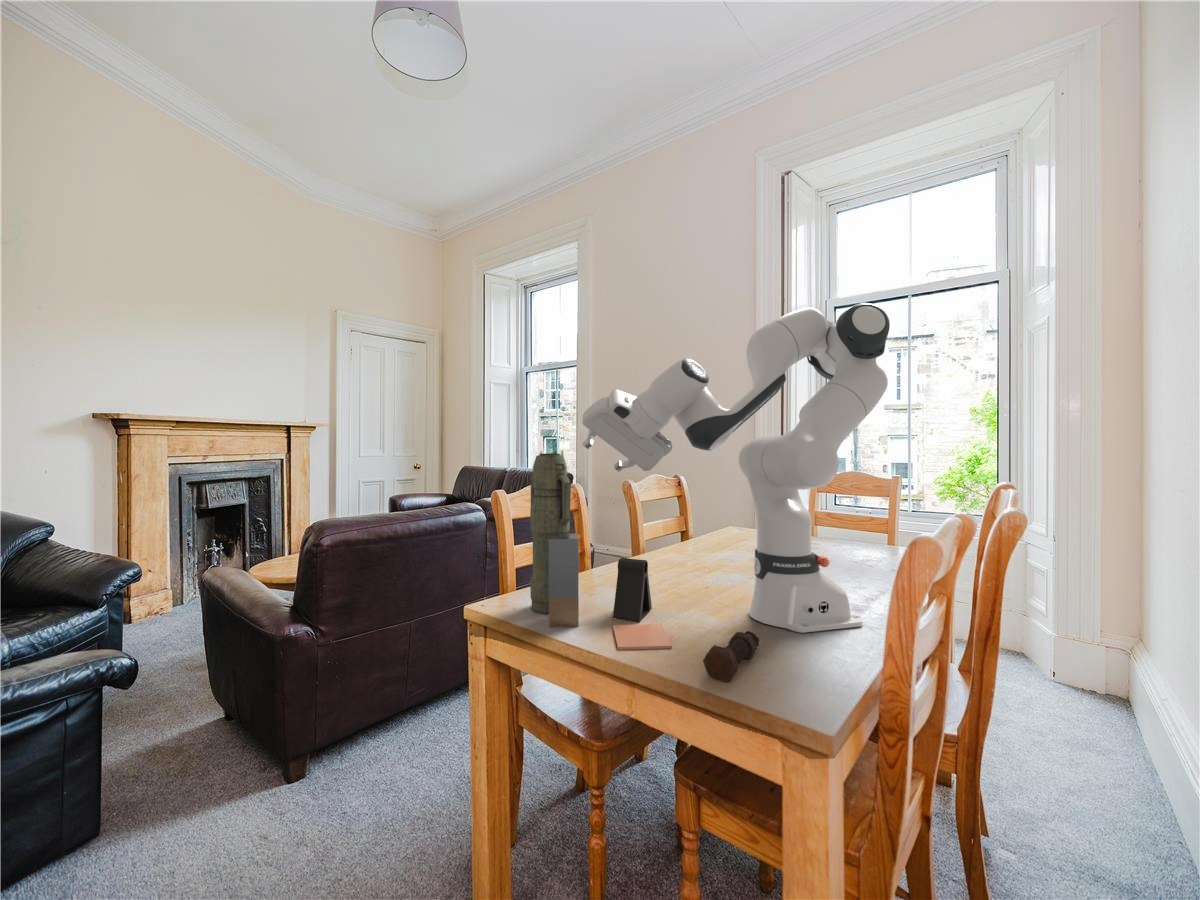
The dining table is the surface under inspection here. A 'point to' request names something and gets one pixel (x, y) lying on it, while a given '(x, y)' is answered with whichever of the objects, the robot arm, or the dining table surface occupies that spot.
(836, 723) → the dining table surface
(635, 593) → the black folding stand
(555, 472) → the thermos
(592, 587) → the dining table surface
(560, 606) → the rectangular metal block
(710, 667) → the bolt
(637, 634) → the terracotta tile
